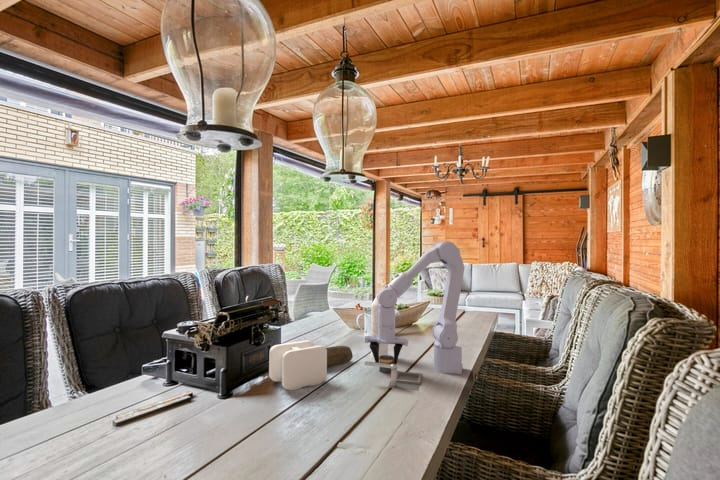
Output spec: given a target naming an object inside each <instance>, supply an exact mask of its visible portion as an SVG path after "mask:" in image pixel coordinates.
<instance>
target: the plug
mask: <svg viewBox="0 0 720 480" xmlns="http://www.w3.org/2000/svg"><path fill="white" fill-rule="evenodd" d="M379 363H385V364H394V355H390V354H388V355H382V356H380V357H379ZM378 369H379V372H380V373H383V374H391V368H385V367H378Z"/></svg>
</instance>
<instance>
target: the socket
mask: <svg viewBox="0 0 720 480" xmlns="http://www.w3.org/2000/svg"><path fill="white" fill-rule="evenodd" d="M422 377H423V373H419V372H412V371H411V372H409V371H402V370H401V371H399V370H398V371H397V369H391V373H390V381H389V382H388V383H389V384H388V386H387V388H389V389H399V390H407V391H408V390H409V391H419V390H420V386H421V381H422Z"/></svg>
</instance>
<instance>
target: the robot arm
mask: <svg viewBox="0 0 720 480" xmlns="http://www.w3.org/2000/svg"><path fill="white" fill-rule="evenodd" d="M438 262H440V263H442V264H443V266H445V268H446V270H447V276H446V281H445V287H444V292H443V296H442V302H441V309H440V313H439V315H438V317H437V318H436V319H437V320H436V323H435V325H434V326H433V328H432V331H431V332H432V336H433V337H434V342H433V370H434V371H435V372H438V373H441V374H456V375H462V373H463V372H462V370H463V368H464V366H463V363H462V361H463V360H462V359H463V355H462V354H463V353H462V352H463V351H462V348H463V347H462V346H457V342H458V340H459V336H458V331H457V329H458V324H457V318H456V317H457V311H458V307H459V302H460V296H461V291H462V284H463V279H464V274H465V265H464V262H463V258H462V256H461V250H460V248H458V246H457V245H456V244H455V243H454V242H453V241H437V242H435V243H434V244H433V245H432V246H430V247H429V248H428V249H427V250H425V251H424V253H423V254H422V255H421V256H420V257H418V259H417V260H416V261H415V262H414V263H413V265H411V266H410V268H408V270H406V271H405V272H403V271H402V272H401V271H400V272H399V273H396V274H395V275H394V277H395V278H393V279H392V280H391V281H390V282H389V283H388V284H385V285H384V287H385V288H382V289H380V290H379V293H378V296H377V295H376V296H377V300H378V301H379V306H378V308H379V310H378V336H371V335H365V336H364V343H365V344H368V343H369V348H370V352H371V351H372V353H373V355H374V359H373V360H374V362H376V363H380V361H379V343H382V344H388V345H394V346H393V358H394V361H393V364H397V365H398V358H399V356H400V354H401V350H402V349H403V346H405V347H408V346H409V338H405V337H400V336H399V337H398V336H396V310H395V309H396V307H395V306H396V305H397V303H398V298H401V297H402V296H403V294H405V293H406V292H407V291H408V290H409V289H410V288H411V287H412V286H413V283H414V282H413V281H414V279H415V278H416V277H417V276H418V275H420V274H421V272H422V271H423V270H425V269H426V268H427V267H428V266H430V264H435V263H438Z"/></svg>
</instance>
